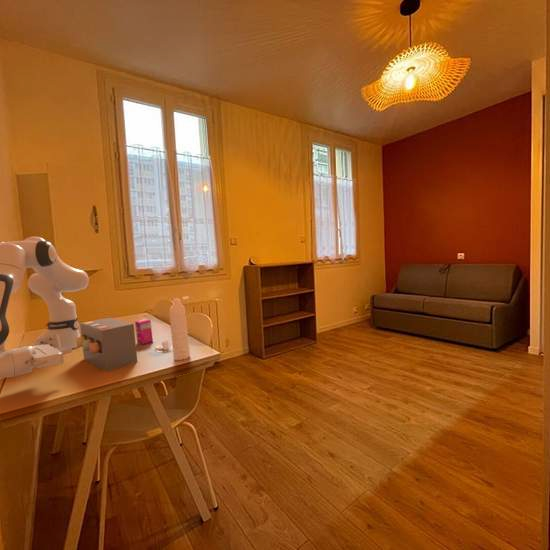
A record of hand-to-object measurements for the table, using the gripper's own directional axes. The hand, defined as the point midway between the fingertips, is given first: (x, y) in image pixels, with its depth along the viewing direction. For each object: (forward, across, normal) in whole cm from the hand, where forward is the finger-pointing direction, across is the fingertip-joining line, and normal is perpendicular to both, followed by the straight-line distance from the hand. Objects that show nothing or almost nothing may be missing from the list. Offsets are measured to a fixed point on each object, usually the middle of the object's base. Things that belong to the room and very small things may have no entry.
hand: (71, 349), depth 113 cm
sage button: (+8, +8, +3) cm, 12 cm away
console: (+15, +8, +10) cm, 20 cm away
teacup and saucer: (+39, +4, +11) cm, 41 cm away
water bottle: (+36, -16, +11) cm, 41 cm away
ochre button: (+8, +16, +3) cm, 18 cm away
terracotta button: (+8, 0, +4) cm, 9 cm away
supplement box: (+36, +21, +10) cm, 43 cm away
